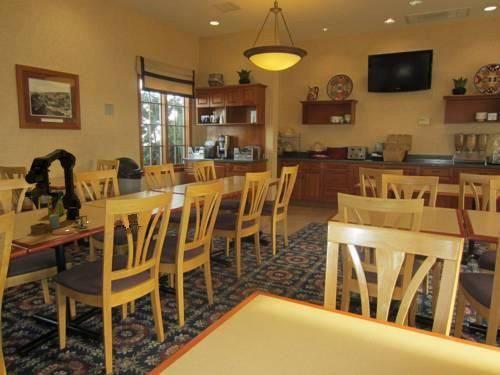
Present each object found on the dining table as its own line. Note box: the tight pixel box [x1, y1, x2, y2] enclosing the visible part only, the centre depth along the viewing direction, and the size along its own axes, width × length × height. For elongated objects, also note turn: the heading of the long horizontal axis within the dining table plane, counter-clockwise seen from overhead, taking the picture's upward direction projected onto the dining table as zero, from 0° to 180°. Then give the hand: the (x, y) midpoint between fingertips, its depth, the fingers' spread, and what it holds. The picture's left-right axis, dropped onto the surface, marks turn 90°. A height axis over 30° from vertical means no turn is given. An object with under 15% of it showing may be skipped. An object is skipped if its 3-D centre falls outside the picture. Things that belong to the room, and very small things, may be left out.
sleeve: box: [30, 222, 52, 235], centre depth 200 cm, size 7×7×4 cm
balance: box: [71, 215, 92, 230], centre depth 209 cm, size 15×5×8 cm, turn 55°
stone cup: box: [114, 214, 139, 227], centre depth 215 cm, size 15×12×15 cm
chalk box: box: [47, 196, 67, 217], centre depth 241 cm, size 9×9×15 cm
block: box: [48, 215, 61, 230], centre depth 209 cm, size 4×4×7 cm
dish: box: [51, 227, 76, 236], centre depth 200 cm, size 11×11×1 cm
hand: (45, 209), depth 202 cm, fingers open, 9 cm apart
